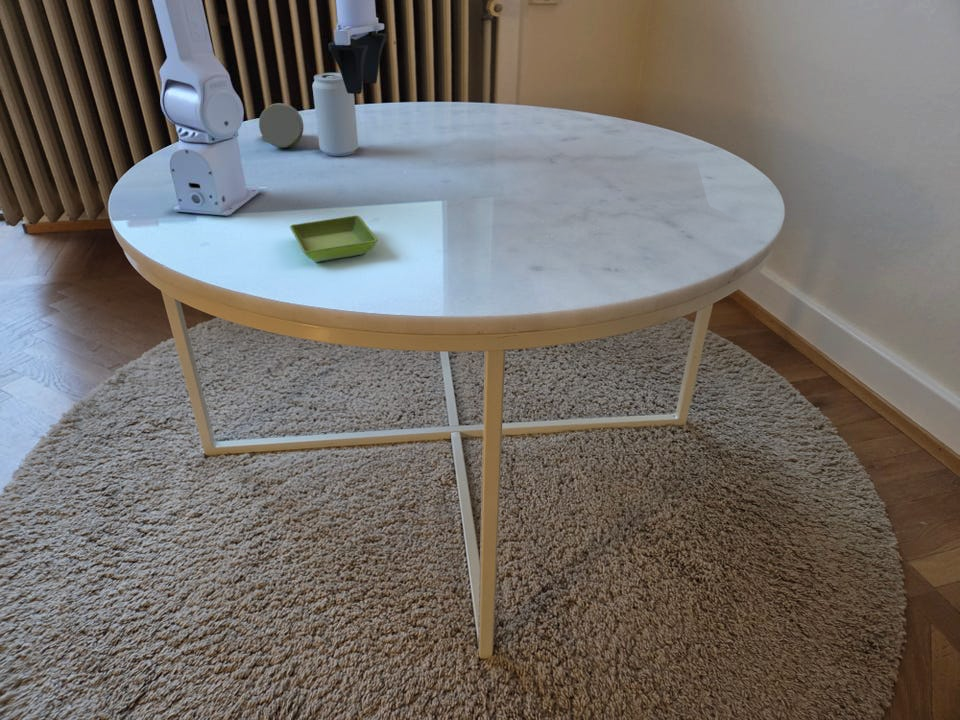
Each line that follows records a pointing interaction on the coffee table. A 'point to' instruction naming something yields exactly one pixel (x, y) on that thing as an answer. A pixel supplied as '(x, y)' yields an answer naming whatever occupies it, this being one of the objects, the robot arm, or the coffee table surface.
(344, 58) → the robot arm
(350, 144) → the beverage can
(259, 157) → the coffee table surface
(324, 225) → the green tray
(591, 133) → the coffee table surface
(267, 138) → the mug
